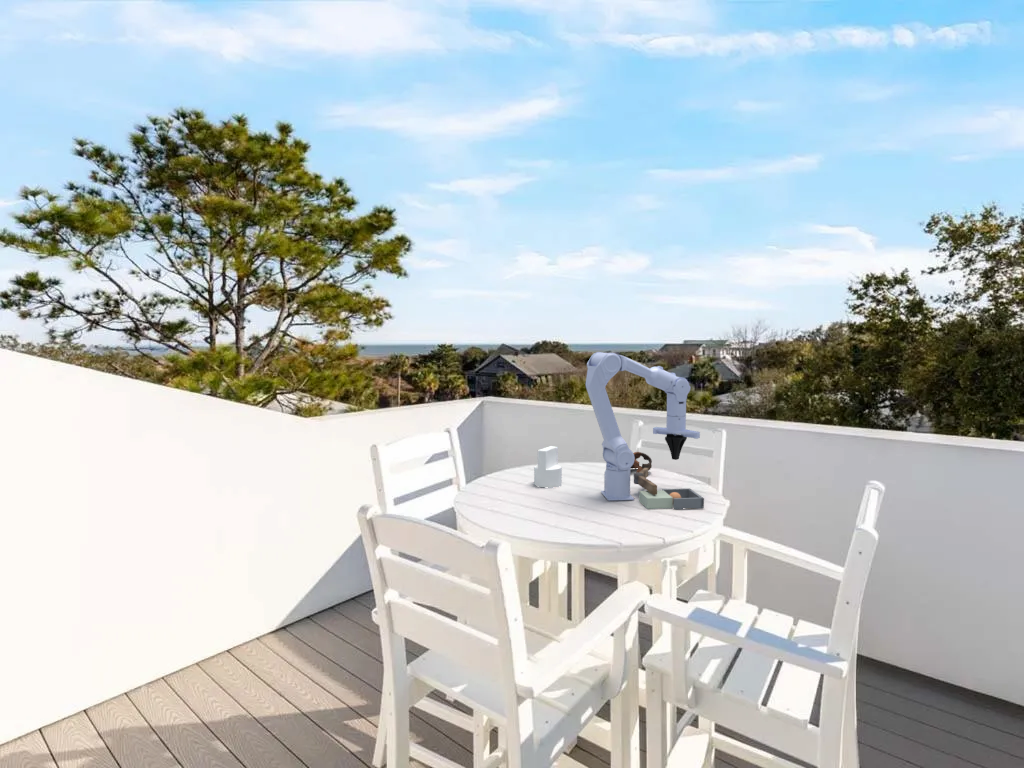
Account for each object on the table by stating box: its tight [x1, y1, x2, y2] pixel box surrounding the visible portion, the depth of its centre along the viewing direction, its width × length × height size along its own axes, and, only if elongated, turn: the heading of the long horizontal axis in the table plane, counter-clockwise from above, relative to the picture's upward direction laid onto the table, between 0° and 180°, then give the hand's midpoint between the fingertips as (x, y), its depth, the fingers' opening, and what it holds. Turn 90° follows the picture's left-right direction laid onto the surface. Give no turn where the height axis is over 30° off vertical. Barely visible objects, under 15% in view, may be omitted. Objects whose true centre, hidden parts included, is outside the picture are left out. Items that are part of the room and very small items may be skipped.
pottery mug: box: [631, 451, 653, 473], centre depth 210 cm, size 12×10×8 cm
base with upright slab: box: [533, 445, 563, 489], centre depth 194 cm, size 9×9×12 cm
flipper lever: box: [633, 468, 658, 495], centre depth 181 cm, size 23×6×3 cm, turn 174°
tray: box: [661, 487, 705, 510], centre depth 172 cm, size 11×8×3 cm
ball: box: [670, 492, 681, 498], centre depth 171 cm, size 4×4×4 cm
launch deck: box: [638, 489, 673, 510], centre depth 171 cm, size 8×7×3 cm
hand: (675, 459), depth 184 cm, fingers closed
